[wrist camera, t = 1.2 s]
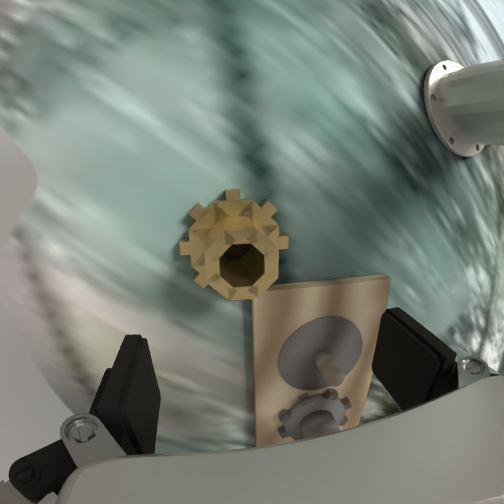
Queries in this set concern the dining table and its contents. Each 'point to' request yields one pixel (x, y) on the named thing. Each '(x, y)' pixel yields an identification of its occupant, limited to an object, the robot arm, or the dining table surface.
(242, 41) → the dining table surface
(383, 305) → the gear board
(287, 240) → the brass gear
